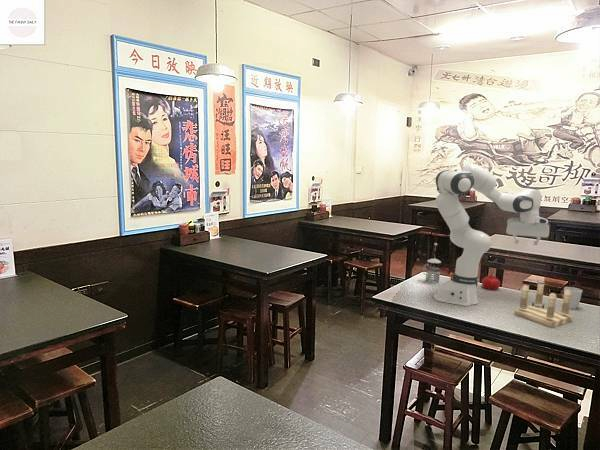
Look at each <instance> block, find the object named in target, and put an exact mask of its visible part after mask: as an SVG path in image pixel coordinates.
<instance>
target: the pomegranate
mask: <svg viewBox="0 0 600 450" xmlns="http://www.w3.org/2000/svg"><path fill="white" fill-rule="evenodd" d="M481 286H482V287H483V288H484V289H487V290H490V291H496V290H498V289H500V286H501V281H500V279H498V276H495V275H493V273H492V272H490V274H488V275H486V276H484V278H483V279H482V280H481Z"/></svg>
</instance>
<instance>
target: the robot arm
mask: <svg viewBox="0 0 600 450" xmlns="http://www.w3.org/2000/svg"><path fill="white" fill-rule="evenodd" d="M497 182H498V181H497V177H496V176H495V175H494V174H493V173H491V171H489V170H487V169H486V168H484V167H483V166H479V165H478V164H475V163H467V164H465V165H464V166H463V167H462V168H461V170H460V171H457V170H449V169H447V170H441V171H440V172H438V173H437V174H436V177H435V185H436V191H437V192H438V193H439V194H438V195H437V196H436V197H435V203H436V207H437V209H438V212H439V213H440V215H441V217H442V218H443V220H444V221H445V223H446V225H447V227H448V228H449V230H450V234H449V239H450V241H451V243H453V244H454V245H456V246H457V247H459V248H462V249H463V252H462V254H461V256H459V257H458V258H457V259H456V262H455V272H449V276H450V279H449V280H448V281H446V282H444V283H442V284H441V285H439V288H438V291H437V292H434V293H433V299H434V300H436V301H437V302H440V303H441V302H442V303H447V304H453V305H457V306H458V305H459V306H464V307H468V306H471V305H478V302H479V301H478V294H477V291H478V289H477V288H478V286H479V285H478V283H479V276H478V275H479V273H478V272H479V268H480V267H479V265H480V261H481V260H482V257H483V255H484V254H485V253H486V252H488V251H489V250H490V249H491V247H492V242H493V241H492V238H491V236H490V235H488V234H487V233H485V232H483V231H481V230H478V229H477V230H476V229H474V228H472V227H471V226H470V224H469V222H470V216H469V215H468V212H466V209H465V208H464V206H463V205H462V203H461V202H460V200H459V197H458V196H459V195H466V194H467V193H469V192H470V191H471V190H472V189H473V190H475V191H476V192H478V193H481V194H482V195H484V196H485V197H486V198H488V199H489V200H490V201H491V202H492V203H493V204H494V205H495V208H497V209H498V210H499V211H503V212H504V211H506V212H512V213H517V214H520V215H519V217H509V218H508V219H507V221H506V225H507V226H506V229H505V230H506V231H505V233H506V234H507V235H512V238H513V239H514V244H519V239H517V237H518V236H523V237H536V240H535V241H533V245H534V246H538V245H539V244H538V243H539V242H540V241H541V240H542V239H541V238H548V237H549V236H550V225H549V220H548V219H547V218H545V217H543V216H540V208H541V201H542V193H541V191H540V190H539V189H537V188H532V187H525V188H524V190H522V191H520V192H518V193H512V192H511V193H510V192H507V191H500V190H499V189H497V188H496V186H497Z"/></svg>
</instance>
